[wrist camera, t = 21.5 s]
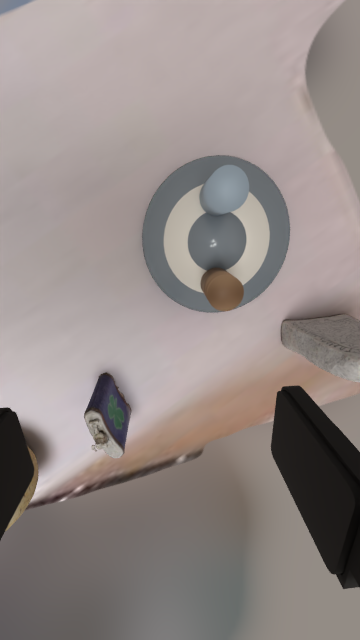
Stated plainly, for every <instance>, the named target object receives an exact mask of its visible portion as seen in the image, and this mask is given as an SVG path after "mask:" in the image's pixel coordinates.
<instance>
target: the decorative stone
mask: <svg viewBox="0 0 360 640" xmlns="http://www.w3.org/2000/svg"><path fill="white" fill-rule="evenodd" d="M281 331H282V333H281V336H282V343H283V345H284V346H285V347H286V348H288V349H289V350H292V351H294V352H297V353H298V354H300V355H302V356H304V357H305V358H306V359H307V360H309V361H310V362H312V363H313V364H314V365H316V366H317V367H319V368H321V369H323V370H325V371H327V372H329V373H331V374H333V375H335V376H338V377H341V378H344V379H347V380H350V381H354V382H360V321H359V320H357V319H355V318H353V317H352V316H349V315H346V314H341V315H336V316H331V317H324V318H316V319H308V320H290V321H283V323H282V330H281Z"/></svg>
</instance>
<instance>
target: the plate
mask: <svg viewBox="0 0 360 640" xmlns="http://www.w3.org/2000/svg"><path fill="white" fill-rule="evenodd" d="M224 165H235V166H237V167H239V168H241V169H242V170H243V171H244V172H245V174H246V176H247V178H248V181H249V193H248V196H247V199H246V201H245V202H244V204H243V205H242V206H241V207H240V208H238V209H237V210H235V211H232V212H229V213H226V214H223V215H219V216H212V215H209V214H208V213H206V212H205V211H204V210H203V208H202V207H201V204H200V199H199V195H200V191H201V188H202V186H203V185H204V184H205V182H206V181H207V180H208V179H209V177H210V176H211V175H212V174H213V173H214V172H215V171H216V170H217V169H218V168H220V167H221V166H224ZM289 238H290V223H289V215H288V210H287V207H286V204H285V201H284V198H283V196H282V194H281V192H280V190H279V189H278V187H277V186H276V184H275V183H274V181H273V180H272V179H271V178H270V177H269V176H268V175H267V174H266V173H265V172H264V171H262V170H261V169H260V168H259V167H257V166H255V165H254V164H252V163H250V162H248V161H245V160H243V159H240V158H236V157H231V156H219V155H218V156H208V157H204V158H200V159H196V160H194V161H192V162H189V163H187V164H185V165H184V166H182V167H181V168H179V169H177V170H176V171H175V172H174V173H172V174H171V175H170V176H169V177H168V178H167V179H166V180H165V181H164V182H163V183H162V184H161V186H160V187H159V189H158V190H157V191H156V193H155V194H154V196H153V198H152V200H151V202H150V204H149V207H148V209H147V212H146V215H145V220H144V224H143V234H142V240H143V251H144V257H145V260H146V264H147V266H148V269H149V271H150V273H151V275H152V277H153V279H154V280H155V282H156V283H157V285H158V286H159V287H160V289H161V290H162V291H163V292H164V293H165V294H166V295H167V296H168V297H170V298H171V299H172V300H174V301H175V302H177V303H179V304H180V305H182V306H184V307H187V308H189V309H192V310H196V311H201V312H224V311H219V310H217V309H215V308H214V307H212V306H211V304H210V303H209V301H208V299H207V298H206V296H205V295H204V293H203V291H202V289H201V285H200V283H201V278H202V276H203V274H204V273H205V272H206V271H208V270H209V269H211V268H222V269H224V270H226V271H227V272H228V273H230V274H231V275H233V276H234V277H236V278H237V279H238V280H239V281H240V282H241V283H242V285H243V288H244V296H243V299H242V301H241V303H240V304H239V305H238V306H237V307H236V308H238V307H241V306H243V305H245V304H247V303H249V302H250V301H252V300H253V299H255V298H256V297H258V296H259V295H260V294H261V293H262V292H263V291H264V290H265V289H266V288H267V287H268V286H269V285H270V284H271V283H272V281H273V280H274V278H275V277H276V276H277V274H278V272H279V270H280V269H281V267H282V264H283V262H284V259H285V257H286V253H287V250H288V245H289ZM234 309H235V308H234Z"/></svg>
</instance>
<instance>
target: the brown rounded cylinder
mask: <svg viewBox="0 0 360 640" xmlns="http://www.w3.org/2000/svg"><path fill="white" fill-rule="evenodd" d="M200 285H201V289H202V291H203V293H204V295H205V296H206V298H207V299H208V301H209V303H210V304H211V306H212V307H214V308H215V309H217V310H219V311H230V310H232V309H234V308H236V307H237V306H238V305H239V304H240V303H241V301H242V299H243V296H244V288H243V285H242V283H241V282H240V281H239V280H238V279H237V278H236V277H234V276H233V275H231V274H230V273H228V272H227V271H226V270H224V269H222V268H211V269H209V270H208V271H206V272H205V273H204V274H203V276H202V278H201V283H200Z"/></svg>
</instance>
